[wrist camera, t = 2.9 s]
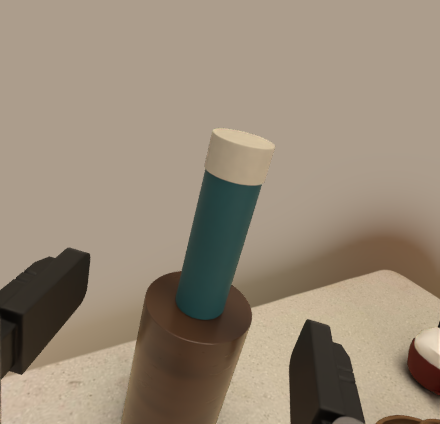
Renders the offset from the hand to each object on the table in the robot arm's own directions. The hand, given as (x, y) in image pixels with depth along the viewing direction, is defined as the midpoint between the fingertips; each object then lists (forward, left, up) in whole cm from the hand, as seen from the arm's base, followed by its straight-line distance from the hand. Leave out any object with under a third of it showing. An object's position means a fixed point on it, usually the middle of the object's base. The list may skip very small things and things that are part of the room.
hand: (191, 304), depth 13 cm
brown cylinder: (+8, +2, -20) cm, 21 cm away
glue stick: (+8, +2, -7) cm, 11 cm away
